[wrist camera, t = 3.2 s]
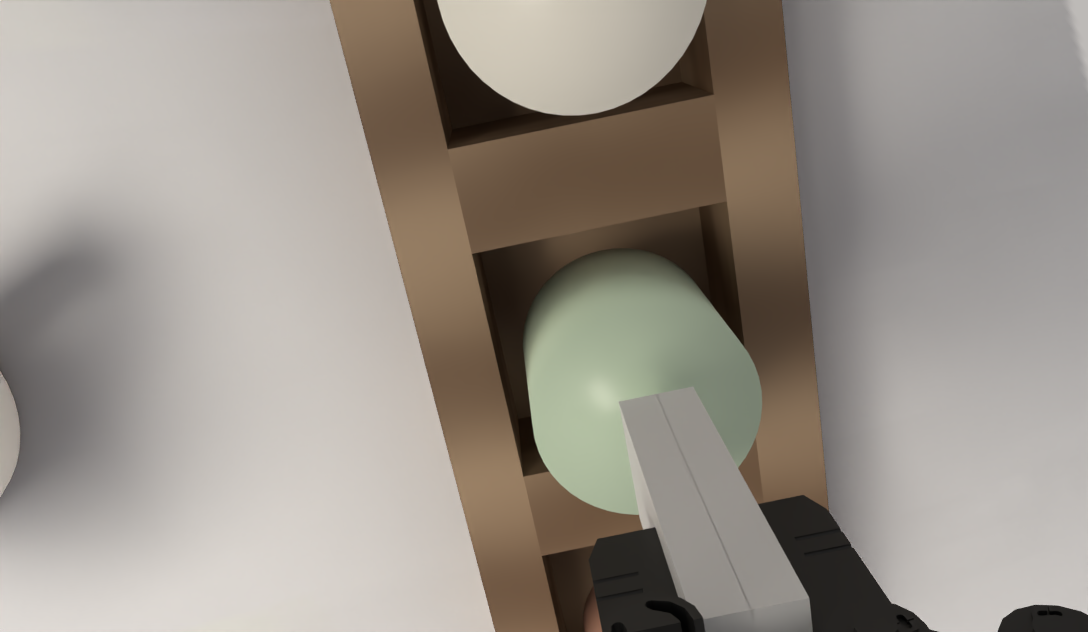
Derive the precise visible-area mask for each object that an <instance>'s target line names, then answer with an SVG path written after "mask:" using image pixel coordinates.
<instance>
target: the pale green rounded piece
mask: <svg viewBox="0 0 1088 632" xmlns="http://www.w3.org/2000/svg"><path fill="white" fill-rule="evenodd" d="M523 352H524V360H525V368H526V377H527V385H528V393H529V401H530V409H531V418H532V425H533V432H534V438H535V442H536V445H537V448H538V451H539V454H540V456H541V458H542V460H543V462H544V464H545V465H546V467H547V468H548V470H549V471H550V473H551V474H552V476H553V477H554V478H555V479H556V480H557V481H558V482H559V483H560V484H561V485H562V486H563V487H564V488H565V489H566V490H568V491H569V492H570V493H571V494H573V495H574V496H576V497H577V498H579V499H580V500H582V501H584V502H586V503H588V504H590V505H592V506H595V507H598V508H601V509H604V510H607V511H611V512H616V513H621V514H632V515H639V511H638V506H637V500H636V495H635V489H634V484H633V478H632V473H631V467H630V462H629V456H628V451H627V445H626V440H625V434H624V429H623V423H622V418H621V412H620V407H619V401H624V400H629V399H634V398H639V397H644V396H649V395H653V394H658V393H663V392H668V391H673V390H678V389H683V388H688V387H694V389H695V391H696V393H697V395H698V396H699V398H700V400H701V402H702V404H703V405H704V407H705V409H706V411H707V413H708V415H709V416H710V418H711V420H712V422H713V424H714V425H715V427H716V429H717V431H718V433H719V435H720V436H721V438H722V440H723V442H724V444H725V445H726V447H727V449H728V451H729V453H730V455H731V456H732V458H733V460H734V462H735V464H736V465H737V467H739V466H740V465H741V463H742V462H743V460H744V459H745V458H746V456H747V454H748V452H749V450H750V449H751V447H752V445H753V442H754V440H755V437H756V435H757V432H758V428H759V424H760V420H761V412H762V390H761V385H760V380H759V376H758V373H757V370H756V368H755V365H754V363H753V361H752V359H751V357H750V355H749V353H748V352H747V350H746V349H745V348H744V346H743V345H742V344H741V342H740V341H739V340H738V338H737V337H736V336H735V334H734V333H733V332H732V330H731V329H730V328H729V327H728V325H727V324H726V323H725V321H724V320H723V319H722V317H721V316H720V315H719V313H718V312H717V311H716V309H715V308H714V307H713V305H712V304H711V303H710V302H709V300H708V299H707V298H706V296H705V295H704V294H703V292H702V291H701V290H700V288H699V287H698V286H697V284H696V283H695V282H694V280H693V279H692V278H691V277H690V276H689V275H688V274H687V273H686V272H685V271H684V270H683V269H681V268H680V267H679V266H677V265H676V264H675V263H673V262H671V261H670V260H668V259H666V258H664V257H662V256H659V255H657V254H654V253H652V252H648V251H644V250H639V249H630V248H614V249H607V250H601V251H597V252H593V253H590V254H587V255H585V256H582V257H580V258H578V259H576V260H574V261H572V262H570V263H569V264H567V265H565V266H564V267H563V268H561V269H560V270H559V271H557V272H556V273H555V274H554V275H553V276H552V277H551V278H550V279H549V280H548V281H547V282H546V283H545V284H544V286H543V287H542V288H541V289H540V291H539V292H538V294H537V295H536V297H535V299H534V300H533V302H532V304H531V307H530V309H529V311H528V314H527V318H526V321H525V325H524V332H523Z"/></svg>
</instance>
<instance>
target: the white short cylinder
mask: <svg viewBox="0 0 1088 632" xmlns="http://www.w3.org/2000/svg"><path fill="white" fill-rule="evenodd" d="M706 1H707V0H437V2H438V6H439V9H440V12H441V16H442V19H443V22H444V25H445V27H446V29H447V32H448V34H449V36H450V39H451V40H452V42H453V44H454V45H455V47H456V49H457V51H458V52H459V54H460V55H461V57H462V58H463V59H464V61H465V62H466V63H467V65H468V66H469V67H470V69H471V70H472V71H473V72H474V73H475V74H476V75H477V76H478V77H479V78H480V79H481V80H482V81H483V82H484V83H486V84H487V85H488V86H489V87H491V88H492V89H493V90H495V91H496V92H497V93H499V94H500V95H502V96H504V97H505V98H507V99H509V100H511V101H512V102H514V103H517V104H519V105H521V106H524V107H526V108H529V109H532V110H536V111H539V112H543V113H548V114H556V115H587V114H594V113H599V112H603V111H606V110H610V109H614V108H616V107H618V106H621V105H623V104H625V103H628V102H630V101H632V100H633V99H635V98H637V97H639V96H640V95H642V94H644V93H645V92H647V91H648V90H649V89H650V88H652V87H653V86H654V85H656V84H657V83H658V82H659V81H660V80H661V79H662V78H663V77H664V76H665V75H666V74H667V73H668V72H669V71H670V70H671V69H672V68H673V67H674V66H675V64H676V63H677V62H678V61H679V59H680V58H681V57H682V55H683V54H684V52H685V51H686V49H687V47H688V46H689V44H690V42H691V41H692V39H693V37H694V35H695V32H696V30H697V28H698V26H699V24H700V21H701V18H702V15H703V12H704V8H705V5H706Z"/></svg>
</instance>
